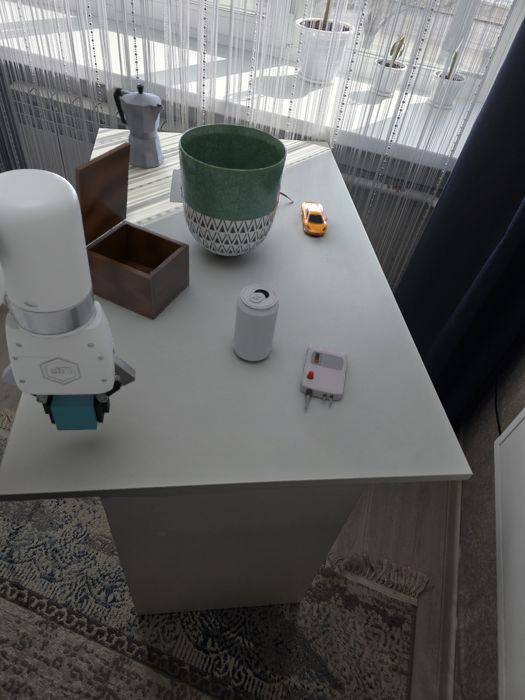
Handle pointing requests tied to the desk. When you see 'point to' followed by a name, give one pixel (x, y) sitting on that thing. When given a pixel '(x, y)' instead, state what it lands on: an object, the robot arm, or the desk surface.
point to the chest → (138, 268)
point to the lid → (103, 191)
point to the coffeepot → (141, 125)
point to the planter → (230, 185)
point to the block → (74, 412)
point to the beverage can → (255, 322)
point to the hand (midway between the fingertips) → (79, 413)
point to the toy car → (313, 218)
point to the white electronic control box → (324, 374)
